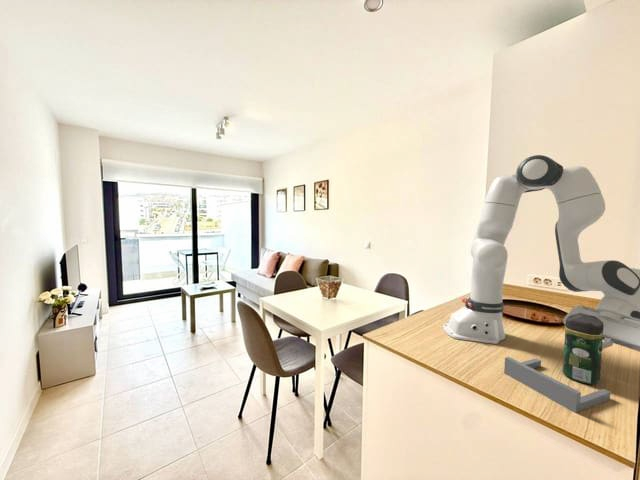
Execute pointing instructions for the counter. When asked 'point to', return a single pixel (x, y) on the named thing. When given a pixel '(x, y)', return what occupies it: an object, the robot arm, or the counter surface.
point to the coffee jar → (583, 348)
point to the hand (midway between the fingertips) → (594, 349)
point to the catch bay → (552, 385)
